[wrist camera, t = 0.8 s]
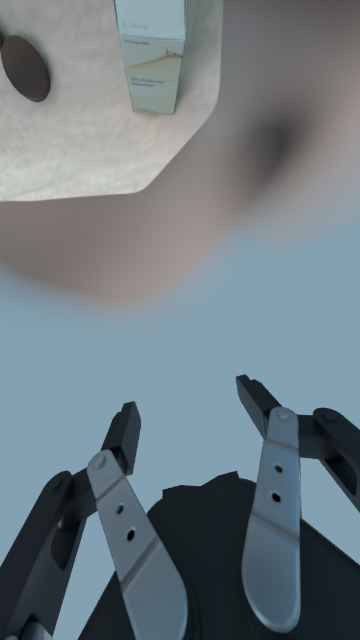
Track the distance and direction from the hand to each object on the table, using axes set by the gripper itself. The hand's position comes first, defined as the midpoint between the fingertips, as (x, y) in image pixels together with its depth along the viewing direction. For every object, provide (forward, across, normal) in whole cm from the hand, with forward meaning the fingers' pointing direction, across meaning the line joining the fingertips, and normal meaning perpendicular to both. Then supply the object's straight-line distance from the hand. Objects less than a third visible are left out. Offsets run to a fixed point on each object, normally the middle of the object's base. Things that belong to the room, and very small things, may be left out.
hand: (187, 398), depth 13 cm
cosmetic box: (+20, -5, -35) cm, 41 cm away
